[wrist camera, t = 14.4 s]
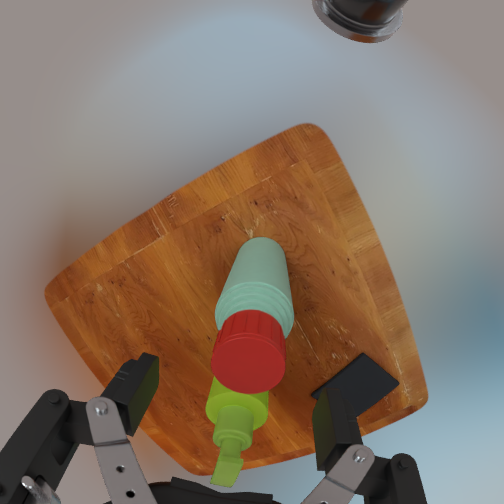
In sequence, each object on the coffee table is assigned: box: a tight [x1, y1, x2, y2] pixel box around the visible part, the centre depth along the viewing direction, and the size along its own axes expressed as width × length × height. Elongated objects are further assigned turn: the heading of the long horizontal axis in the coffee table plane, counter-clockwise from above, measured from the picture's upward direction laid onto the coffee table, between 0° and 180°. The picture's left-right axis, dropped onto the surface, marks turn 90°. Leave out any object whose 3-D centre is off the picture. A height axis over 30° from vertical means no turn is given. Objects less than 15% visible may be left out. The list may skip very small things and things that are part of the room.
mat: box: [311, 353, 399, 417], centre depth 38 cm, size 10×10×1 cm
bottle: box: [215, 237, 294, 339], centre depth 24 cm, size 6×6×19 cm
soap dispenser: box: [206, 376, 269, 487], centre depth 27 cm, size 6×7×20 cm
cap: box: [211, 309, 286, 394], centre depth 16 cm, size 4×4×3 cm
